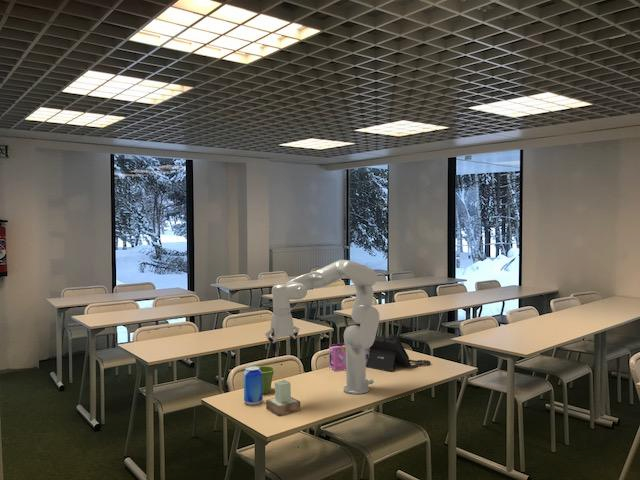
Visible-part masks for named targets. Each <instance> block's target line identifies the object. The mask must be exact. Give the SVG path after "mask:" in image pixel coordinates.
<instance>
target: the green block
mask: <svg viewBox="0 0 640 480" xmlns="http://www.w3.org/2000/svg"><path fill="white" fill-rule="evenodd" d="M291 387H292V385H291V382H290V381H288V380H286V379H283V380H278V381H275V382H274V398H275V400H276V401H278V402H280V403H283V402H288V401H291V397H292V395H291V394H292V391H291V390H292V389H291Z"/></svg>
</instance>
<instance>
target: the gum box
mask: <svg viewBox="0 0 640 480" xmlns="http://www.w3.org/2000/svg"><path fill="white" fill-rule="evenodd" d="M328 353H329V354H328V361H329V362H328V365H329V366H328V367H329V369H330V368H332V369H333V370H335V371H336V372H338V371H337V370H343V371H345V370H344V369H346V348H345V342H342V343H341V342H340V343H335V344H329V346H328ZM369 354H370V348H368V349H365V357H366V364H367V360H368V357H369ZM333 370H332V371H333ZM335 371H334V372H335Z"/></svg>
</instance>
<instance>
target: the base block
mask: <svg viewBox="0 0 640 480" xmlns="http://www.w3.org/2000/svg"><path fill="white" fill-rule="evenodd" d="M265 406H266V407H265V409H266V410H267V411H269V412H271V413H272V414H274V415H276V416H278V417H280V416H285V415H288V414H292V413H295V412H299V411H301V401H300V400H298V399H296V398H295V397H292V396H291V401H288V402H283V403H280V402H278V401H276V400H275V397H274V398H270V399H266V400H265Z"/></svg>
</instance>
